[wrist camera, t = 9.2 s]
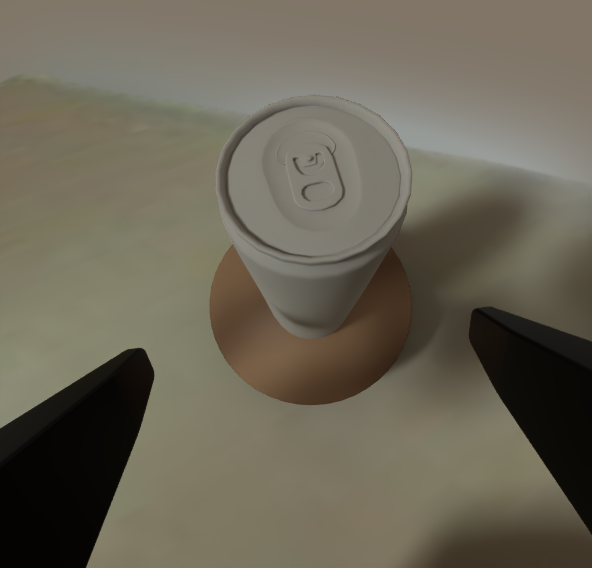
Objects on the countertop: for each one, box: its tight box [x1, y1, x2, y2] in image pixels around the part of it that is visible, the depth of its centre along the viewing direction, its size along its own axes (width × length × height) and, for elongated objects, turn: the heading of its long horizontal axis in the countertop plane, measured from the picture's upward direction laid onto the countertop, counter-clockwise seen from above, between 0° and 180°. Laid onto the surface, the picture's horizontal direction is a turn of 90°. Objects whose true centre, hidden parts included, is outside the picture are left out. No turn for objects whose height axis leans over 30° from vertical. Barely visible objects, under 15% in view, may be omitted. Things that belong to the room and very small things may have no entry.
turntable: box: [210, 244, 412, 405], centre depth 19 cm, size 12×12×2 cm
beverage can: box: [216, 95, 412, 339], centre depth 13 cm, size 5×5×12 cm
